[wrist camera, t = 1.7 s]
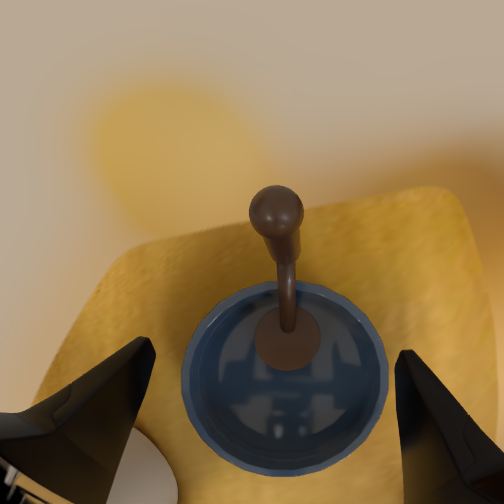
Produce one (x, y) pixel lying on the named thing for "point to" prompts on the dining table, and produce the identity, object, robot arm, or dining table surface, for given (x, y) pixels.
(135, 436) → the cylinder vase
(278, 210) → the ladle
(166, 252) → the dining table surface
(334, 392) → the bowl
